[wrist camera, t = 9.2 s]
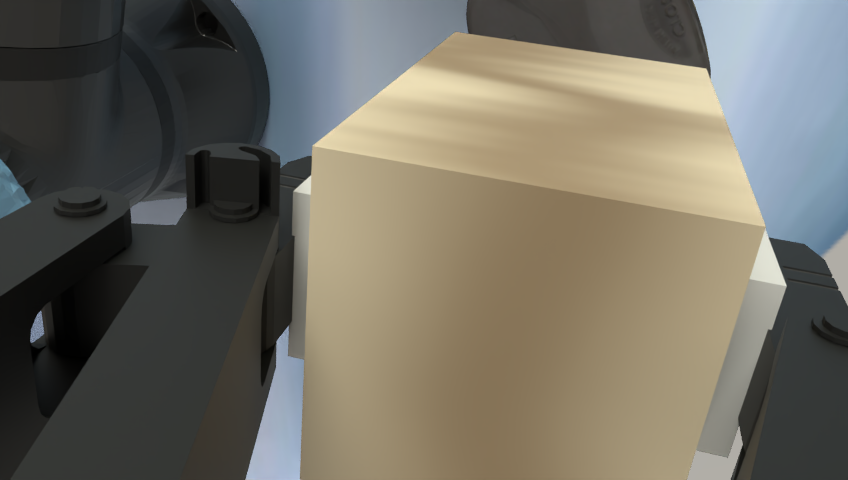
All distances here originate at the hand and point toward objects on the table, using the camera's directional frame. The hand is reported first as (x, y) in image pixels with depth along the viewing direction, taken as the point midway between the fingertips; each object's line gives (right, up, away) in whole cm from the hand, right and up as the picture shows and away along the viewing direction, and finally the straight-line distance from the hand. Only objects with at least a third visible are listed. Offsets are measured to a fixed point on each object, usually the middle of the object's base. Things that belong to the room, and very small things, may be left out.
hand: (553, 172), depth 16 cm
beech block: (0, 0, 0) cm, 0 cm away
